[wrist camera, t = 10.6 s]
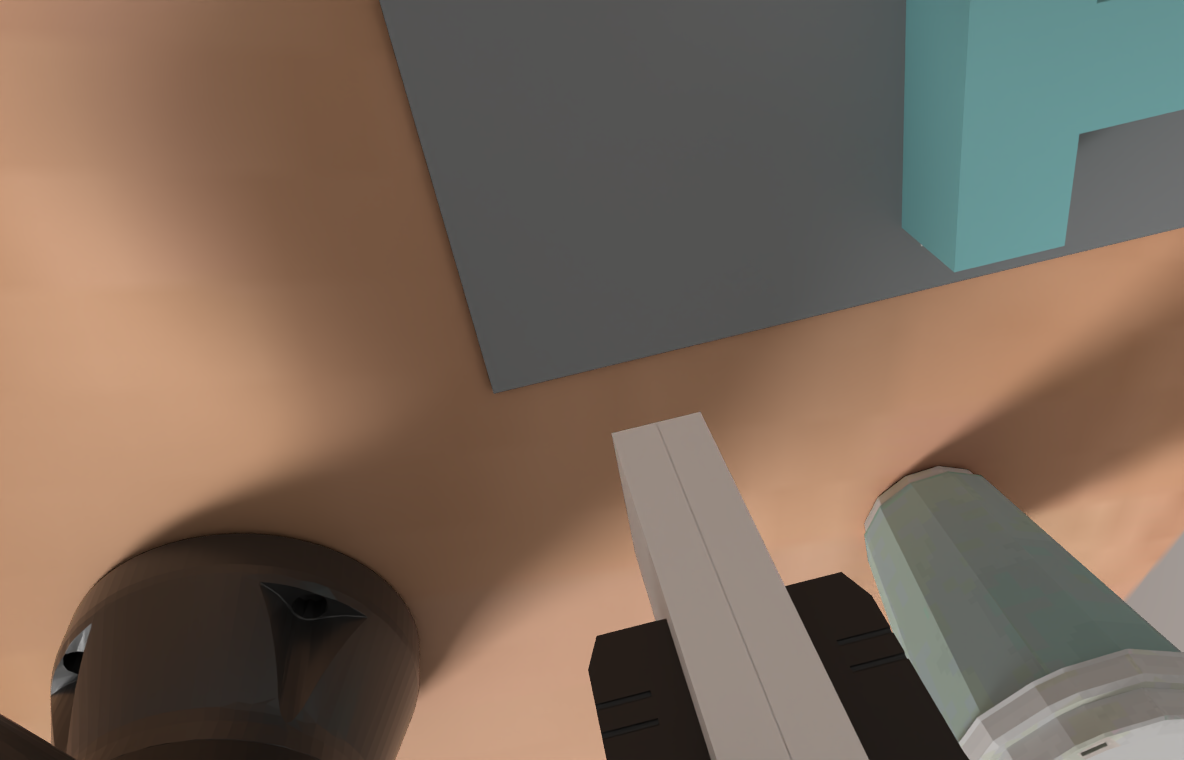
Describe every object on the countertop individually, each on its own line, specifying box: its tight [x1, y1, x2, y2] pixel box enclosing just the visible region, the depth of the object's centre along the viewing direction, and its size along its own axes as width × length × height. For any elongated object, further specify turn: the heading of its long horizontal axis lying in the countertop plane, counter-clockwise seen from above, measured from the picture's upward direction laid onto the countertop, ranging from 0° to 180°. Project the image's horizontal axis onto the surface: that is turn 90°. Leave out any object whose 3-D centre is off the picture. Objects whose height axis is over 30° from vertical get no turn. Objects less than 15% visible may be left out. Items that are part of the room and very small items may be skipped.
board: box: [379, 0, 1184, 393], centre depth 31 cm, size 18×34×1 cm, turn 100°
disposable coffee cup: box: [864, 466, 1184, 760], centre depth 37 cm, size 11×11×15 cm
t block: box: [902, 0, 1184, 272], centre depth 29 cm, size 12×12×4 cm
